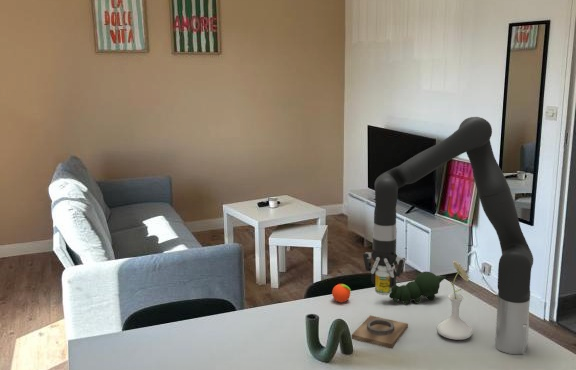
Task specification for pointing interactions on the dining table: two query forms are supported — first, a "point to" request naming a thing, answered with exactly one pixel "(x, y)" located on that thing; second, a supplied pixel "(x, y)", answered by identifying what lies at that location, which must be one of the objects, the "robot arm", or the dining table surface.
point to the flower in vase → (455, 313)
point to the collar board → (380, 339)
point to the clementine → (341, 293)
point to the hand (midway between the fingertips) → (383, 285)
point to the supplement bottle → (382, 281)
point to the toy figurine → (417, 288)
